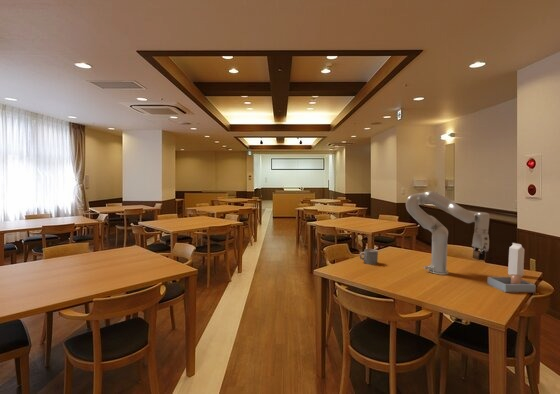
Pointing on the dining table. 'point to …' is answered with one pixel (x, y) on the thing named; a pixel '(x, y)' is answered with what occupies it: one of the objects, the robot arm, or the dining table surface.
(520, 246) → the milk
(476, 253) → the walnut cube
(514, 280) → the terracotta cylinder
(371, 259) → the coffee mug
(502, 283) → the tray
